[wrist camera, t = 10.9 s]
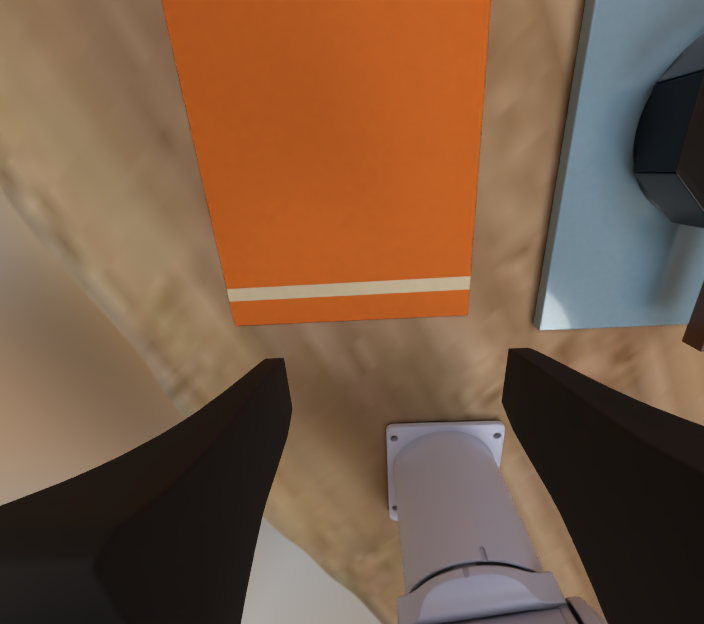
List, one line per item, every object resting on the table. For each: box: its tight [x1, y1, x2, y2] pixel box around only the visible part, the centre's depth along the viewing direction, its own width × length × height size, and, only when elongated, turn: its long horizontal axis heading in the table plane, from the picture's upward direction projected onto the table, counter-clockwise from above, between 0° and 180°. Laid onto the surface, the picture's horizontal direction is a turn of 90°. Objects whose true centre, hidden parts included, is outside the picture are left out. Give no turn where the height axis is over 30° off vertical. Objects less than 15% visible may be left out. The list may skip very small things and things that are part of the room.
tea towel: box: [162, 0, 491, 326], centre depth 16 cm, size 20×14×1 cm
